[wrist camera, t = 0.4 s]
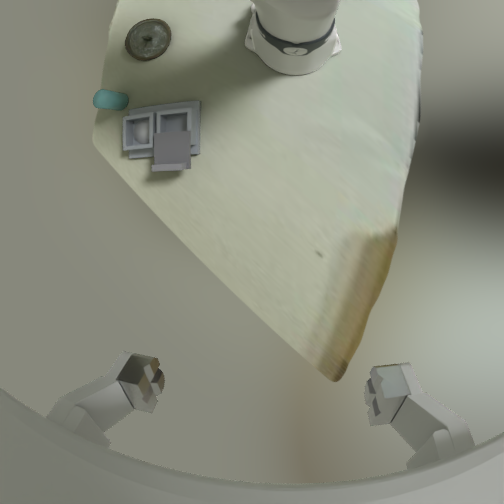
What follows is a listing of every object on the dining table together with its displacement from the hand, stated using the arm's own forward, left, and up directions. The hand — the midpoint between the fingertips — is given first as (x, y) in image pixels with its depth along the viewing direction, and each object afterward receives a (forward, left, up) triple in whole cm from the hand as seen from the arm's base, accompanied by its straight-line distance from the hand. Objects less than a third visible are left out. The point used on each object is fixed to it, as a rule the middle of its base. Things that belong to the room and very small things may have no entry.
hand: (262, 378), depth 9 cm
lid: (-34, -28, -47) cm, 64 cm away
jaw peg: (-20, -35, -46) cm, 61 cm away
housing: (-12, -24, -46) cm, 53 cm away
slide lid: (-7, -20, -42) cm, 47 cm away
